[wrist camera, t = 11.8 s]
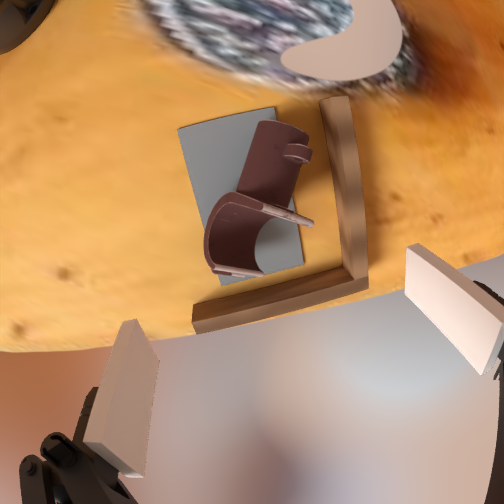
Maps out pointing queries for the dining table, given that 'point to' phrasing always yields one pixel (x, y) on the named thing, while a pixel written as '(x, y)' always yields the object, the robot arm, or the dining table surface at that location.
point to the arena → (351, 237)
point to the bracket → (256, 199)
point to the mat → (236, 183)
